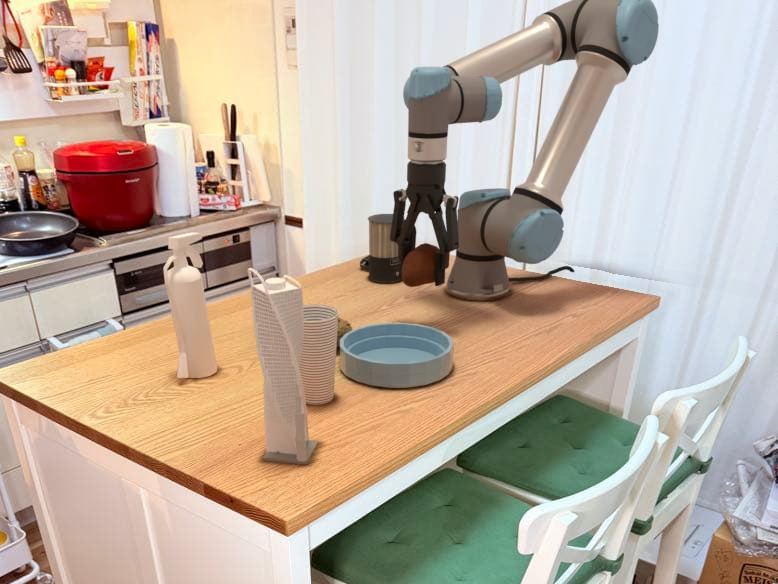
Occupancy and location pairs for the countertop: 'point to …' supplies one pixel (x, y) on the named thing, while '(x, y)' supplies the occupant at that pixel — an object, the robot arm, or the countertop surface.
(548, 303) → the countertop surface
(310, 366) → the cup
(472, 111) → the robot arm
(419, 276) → the potato
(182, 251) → the fire extinguisher
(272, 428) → the skyscraper
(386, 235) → the milk frother
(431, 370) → the bowl
